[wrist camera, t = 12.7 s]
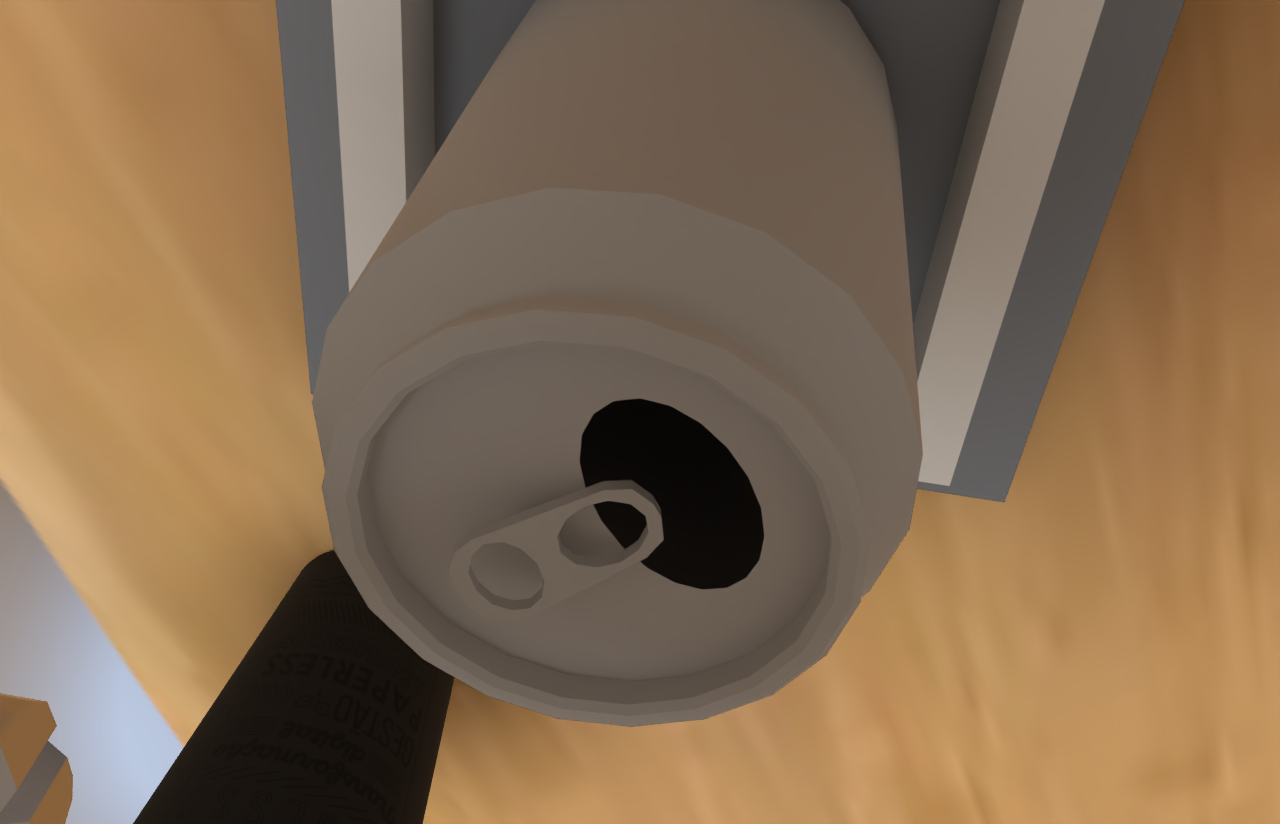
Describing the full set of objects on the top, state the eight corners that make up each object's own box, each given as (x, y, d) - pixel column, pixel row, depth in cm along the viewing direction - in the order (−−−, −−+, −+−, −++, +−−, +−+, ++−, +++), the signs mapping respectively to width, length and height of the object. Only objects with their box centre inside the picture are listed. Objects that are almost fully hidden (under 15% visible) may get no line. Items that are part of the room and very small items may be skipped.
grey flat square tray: (261, -448, 20) (179, -440, 17) (1280, -326, 19) (1343, -301, 16) (325, 369, 29) (279, 447, 27) (999, 474, 28) (1014, 563, 26)
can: (951, 221, 24) (1022, 707, 14) (611, 342, 26) (477, 818, 17) (802, -159, 20) (761, 149, 11) (426, 27, 23) (122, 405, 13)
